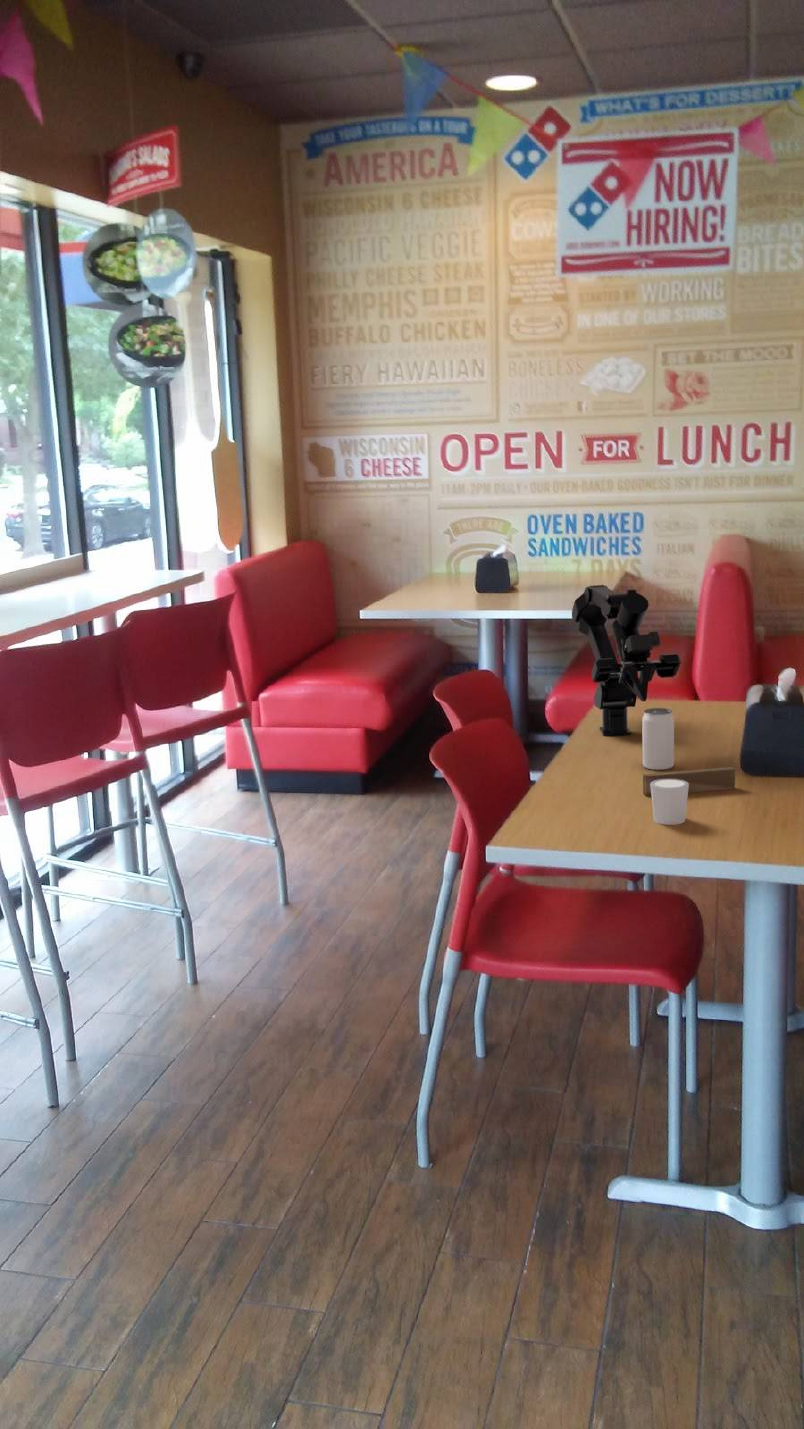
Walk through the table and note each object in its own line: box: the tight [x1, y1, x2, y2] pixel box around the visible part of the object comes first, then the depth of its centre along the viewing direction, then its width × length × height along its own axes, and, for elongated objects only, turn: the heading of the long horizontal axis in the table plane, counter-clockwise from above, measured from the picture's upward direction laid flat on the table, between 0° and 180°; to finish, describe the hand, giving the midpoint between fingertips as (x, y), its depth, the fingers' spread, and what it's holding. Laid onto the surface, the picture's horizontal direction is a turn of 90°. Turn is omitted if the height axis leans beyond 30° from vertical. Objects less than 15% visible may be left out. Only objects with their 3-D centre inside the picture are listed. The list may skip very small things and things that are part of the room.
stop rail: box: [642, 766, 736, 797], centre depth 252 cm, size 2×18×4 cm, turn 97°
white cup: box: [650, 779, 689, 826], centre depth 235 cm, size 7×7×7 cm
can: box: [641, 707, 675, 771], centre depth 269 cm, size 6×6×12 cm
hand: (644, 700), depth 276 cm, fingers closed
